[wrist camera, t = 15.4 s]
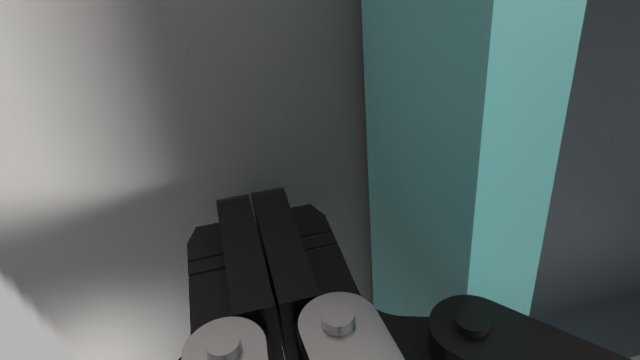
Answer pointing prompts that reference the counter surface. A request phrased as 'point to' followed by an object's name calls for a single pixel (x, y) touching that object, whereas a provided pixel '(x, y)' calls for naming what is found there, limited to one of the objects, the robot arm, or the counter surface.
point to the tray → (507, 159)
